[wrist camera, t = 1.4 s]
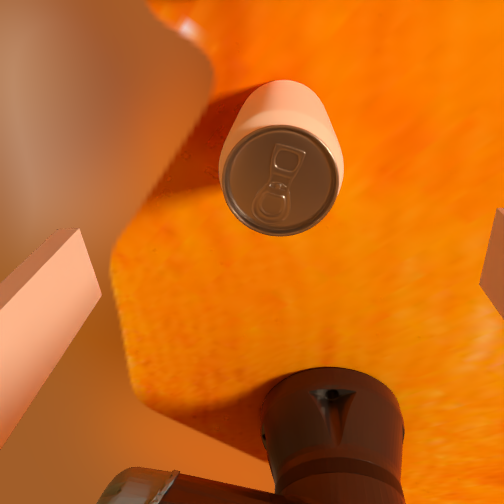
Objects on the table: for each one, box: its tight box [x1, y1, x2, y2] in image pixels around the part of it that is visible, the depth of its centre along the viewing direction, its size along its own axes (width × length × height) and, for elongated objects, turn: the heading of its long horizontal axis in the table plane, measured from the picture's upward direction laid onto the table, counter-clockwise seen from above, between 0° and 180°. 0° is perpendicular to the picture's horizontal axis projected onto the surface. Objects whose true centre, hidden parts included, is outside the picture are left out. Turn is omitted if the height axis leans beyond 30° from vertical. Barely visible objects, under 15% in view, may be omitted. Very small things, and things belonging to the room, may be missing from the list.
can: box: [219, 80, 344, 236], centre depth 25 cm, size 6×6×12 cm
